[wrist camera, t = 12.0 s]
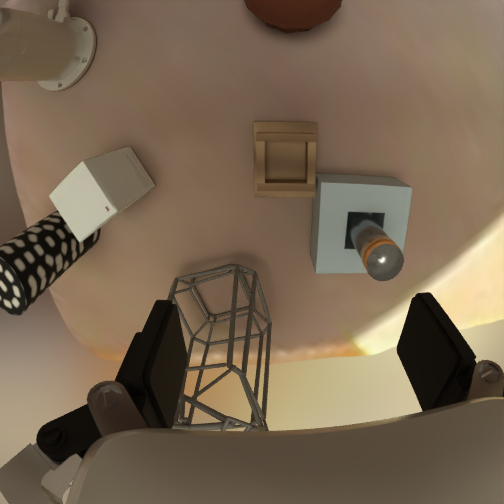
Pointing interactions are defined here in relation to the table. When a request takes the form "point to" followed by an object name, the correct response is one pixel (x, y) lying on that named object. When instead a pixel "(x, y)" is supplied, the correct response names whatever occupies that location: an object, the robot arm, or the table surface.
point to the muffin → (293, 13)
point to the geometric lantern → (252, 397)
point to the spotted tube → (38, 261)
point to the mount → (284, 159)
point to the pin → (374, 246)
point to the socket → (354, 200)
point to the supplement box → (100, 190)
